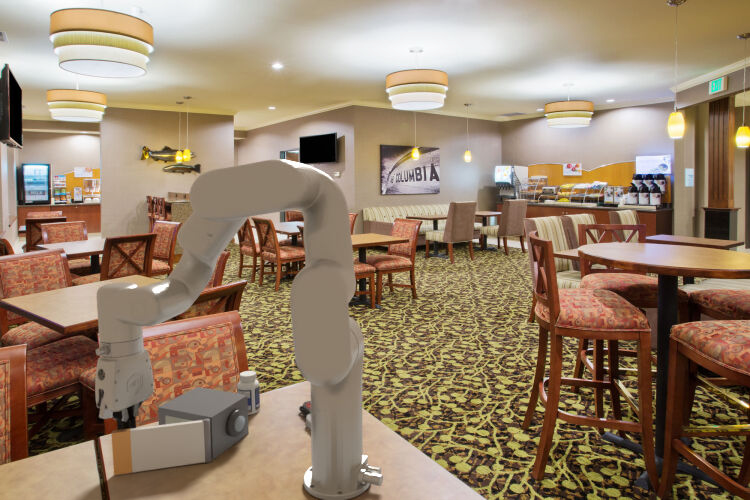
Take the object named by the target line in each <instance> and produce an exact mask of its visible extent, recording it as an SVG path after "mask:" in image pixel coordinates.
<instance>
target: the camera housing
mask: <svg viewBox="0 0 750 500" xmlns="http://www.w3.org/2000/svg"><path fill="white" fill-rule="evenodd" d="M157 415H158V425H165V424H173V423H181V422H190V421H198V420H203V419H210V434H211V459H212V461H213V460H215V459H216V458H217V457H219V456H220V455H222V454H223V453H224V452H226V451H227V450H229V449H230V448H231V447H232V446H234V445H235V444H236V443H238V442H239V441H241V439H244V437H246V436H247V435H249V415H248V399H247V395H243V394H237V393H236V392H231V391H226V390H225V391H223V390H218V389H212V388H207V387H201V386H196V387H194V388H192V389H190V390H188V391H186V392H185V393H183V394H181V395H179V396H177V397H175V398H173V399H171V400H170V401H167V402H165V403H163V404H161V405H159V406H158V407H157Z"/></svg>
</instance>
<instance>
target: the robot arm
mask: <svg viewBox="0 0 750 500" xmlns="http://www.w3.org/2000/svg"><path fill="white" fill-rule="evenodd" d="M188 198H189V203H190V206H191V209H192V210H193V211H192V212H191V214H190V215H189V217H188V218H187V219H186V220H185V222H184V223H183V225H182V226H181V227H180V229H179V230H178V232H177V235H176V239H177V242H178V245H179V246H180V247H181V248H182V249H183V251H182V255H181V257H180V258H179V261H178V263H177V264H176V266H174V268H173V270H172V271H171V272H170V274H169V275H168V276H167V277H166V278H165V279H164V280H160V281H157V282H153V283H150V284H148V285H143V286H139V285H138V284H136V283H135V282H112V283H107V284H104V285H103V284H102V285H101V286H99V288H98V289H97V291H96V306H97V307H96V309H97V325H98V340H99V341H98V343H99V348H96V349H95V355H96V356H99V357H98V358H97V363H96V369H95V383H94V384H95V385H94V387H95V389H94V391H95V393H94V394H95V403H96V407H97V409H99V414H98V418H99V419H103V420H107V419H113V420H115V421H116V430H123V429H132V428H137V422H136V421H137V420H136V418H137V416H138V415H139V410H140V408H141V406H142V404H143V403H144V402H146V401H147V400H148V399H149V398H150V397H151V396H152V395H153V394H154V391H155V387H154V386H155V384H154V374H153V367H152V362H151V358H150V354H149V352H148V351H149V350H148V349H147V348H146V347H144V331H143V330H144V329H143V328H144V327H147V328H149V327H154V326H158V325H159V324H162V323H164V322H166V321H168V320H171V319H173V318H174V317H177V316H179V315H181V314H183V313H185V312H186V311H187V310H188V309H189V308H191V306H192V305H193V304H195V303H194V302H195V301H196V300H197V299H198V298H199V297H200V295H201V294H202V292H203V291H204V289H206V287H207V286H208V284H209V282H210V281H211V279H212V278H213V275H214V273H215V270H216V269H217V268H216V267H217V264H218V259H220V257H221V256H222V253H223V252H224V251H225V249H227V247H228V245H229V244H230V243H231V242H232V241H233V238H235V236H236V234H238V232H239V231H240V229H241V228H242V227H243V226H244V224H245V223H246V221H247V220H248V219H249V217H255V216H261V215H266V214H267V215H269V214H274V213H275V214H276V213H282V212H291V211H292V212H294V211H298V212H300V213H301V215H302V217H303V228H302V229H303V234H302V235H303V247H304V259H305V264H304V265H305V266H304V267H303V268H302V269H300V270H299V272H298V273H296V275H295V277H294V279H293V281H292V284H291V287H290V295H289V296H290V297H289V305H290V306H289V307H290V318H291V329H292V340H293V342H292V343H293V351H294V353H293V354H294V358H295V363H296V366H297V369H298V371H299V373H300V374H301V375H302V377H303V379H305V380H306V381H307V382H309V384H310V401H311V430H310V441H311V442H310V443H311V444H310V445H311V466H310V467H309V468H307V470H306V471H305V473H304V475H303V486H304V490H305V491H306V492H307V493H308V494H309V495H311V496H313V497H314V498H316V499H320V500H349V499H353V498H356V497H358V496H359V495H362V494H363V493H364V492H365V491H367V489H369V487H370V485H374V486H378V487H381V486H382V485H383V482H384V475H383V474H382V473H381V472H382V468H381V467H380V466H371V465H370V464H369V462H368V455H364V454H363V452H364V451H363V446H364V445H363V440H364V439H363V378H364V377H363V375H364V374H363V373H364V370H363V369H364V360H365V359H364V355H365V338H364V334H363V331H362V328H361V327H360V325H359V323H358V322H357V321H356V320H355V319H354V318H352V317H351V316H350V309H349V303H350V302H351V300H352V299H353V297H354V295H355V293H356V289H357V281H356V272H355V263H354V251H353V250H354V249H353V240H352V233H351V232H352V231H351V222H350V221H351V220H350V213H349V206H348V202H347V199H346V197H345V194H344V192H343V190H342V188H341V187H340V185H339V184H338V182H336V180H335V179H334V178H333V177H331V176H330V175H329V174H327V173H325V172H324V171H322V170H320V169H319V168H316V167H313V166H311V165H309V164H305V163H302V162H297V161H294V160H293V161H292V160H288V159H283V158H276V159H275V158H274V159H268V160H262V161H256V162H251V163H246V164H240V165H239V164H238V165H236V166H228V167H222V168H218V169H217V168H216V169H211V170H208V171H205V172H203V173H202V174H200V175H199V176H198V177H197V178H196V179H195V180H194V182H193V183H192V184H191V186H190V190H189V196H188Z"/></svg>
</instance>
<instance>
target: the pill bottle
mask: <svg viewBox="0 0 750 500" xmlns="http://www.w3.org/2000/svg"><path fill="white" fill-rule="evenodd" d="M236 389H237V391H236V392H237V394H243V395H247V399H248V416H251V415H254V414H257V413H258V412H259V411H260V410H261V395H260V394H261V393H260V391H261V390H260V382H259V380H258V379H257V372H256V371H255V370H245V371H242V372H240V373H239V381H238V383H236Z"/></svg>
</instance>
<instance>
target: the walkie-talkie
mask: <svg viewBox="0 0 750 500" xmlns="http://www.w3.org/2000/svg"><path fill="white" fill-rule="evenodd" d="M298 408H299V411H300V412H301V413H302V415H303V416H304V417H305V424H306V425H305V426H306V427H307V428H308V429H309V431H311V400H306V401H304V402H303V404H302V405H301V406H299V407H298Z"/></svg>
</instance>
